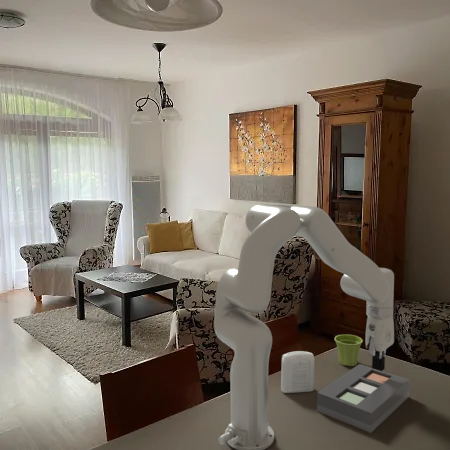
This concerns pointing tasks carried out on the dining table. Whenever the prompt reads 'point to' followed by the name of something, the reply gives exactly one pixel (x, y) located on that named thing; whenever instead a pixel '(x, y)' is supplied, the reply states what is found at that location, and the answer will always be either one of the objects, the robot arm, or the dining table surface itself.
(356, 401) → the sage key
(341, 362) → the plant pot
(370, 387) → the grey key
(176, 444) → the dining table surface
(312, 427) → the dining table surface
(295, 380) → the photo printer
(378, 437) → the dining table surface
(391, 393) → the keypad
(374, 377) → the terracotta key
